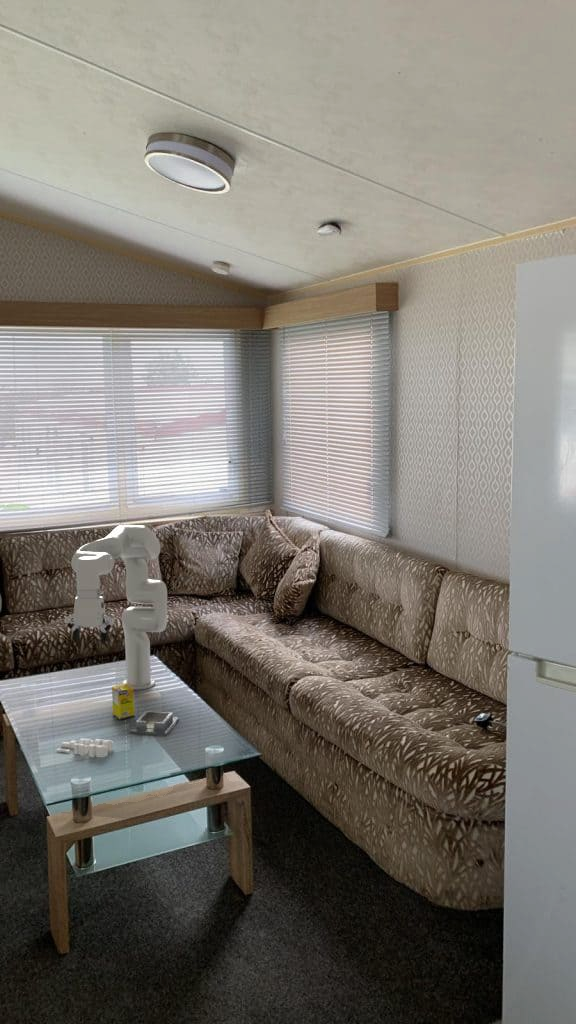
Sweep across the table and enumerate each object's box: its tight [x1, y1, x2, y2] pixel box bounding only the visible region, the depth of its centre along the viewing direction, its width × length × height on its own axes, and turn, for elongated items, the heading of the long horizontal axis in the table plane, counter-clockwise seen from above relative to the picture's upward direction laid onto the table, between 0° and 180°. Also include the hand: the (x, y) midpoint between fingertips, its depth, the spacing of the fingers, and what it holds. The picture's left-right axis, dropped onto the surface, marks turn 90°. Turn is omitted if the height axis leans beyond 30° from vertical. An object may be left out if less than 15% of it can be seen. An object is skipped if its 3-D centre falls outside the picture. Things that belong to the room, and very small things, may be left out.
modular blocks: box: [56, 737, 114, 758], centre depth 276 cm, size 20×7×4 cm, turn 78°
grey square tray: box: [129, 710, 180, 736], centre depth 295 cm, size 14×13×4 cm
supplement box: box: [111, 683, 135, 721], centre depth 304 cm, size 6×6×11 cm
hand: (90, 642), depth 289 cm, fingers open, 9 cm apart
